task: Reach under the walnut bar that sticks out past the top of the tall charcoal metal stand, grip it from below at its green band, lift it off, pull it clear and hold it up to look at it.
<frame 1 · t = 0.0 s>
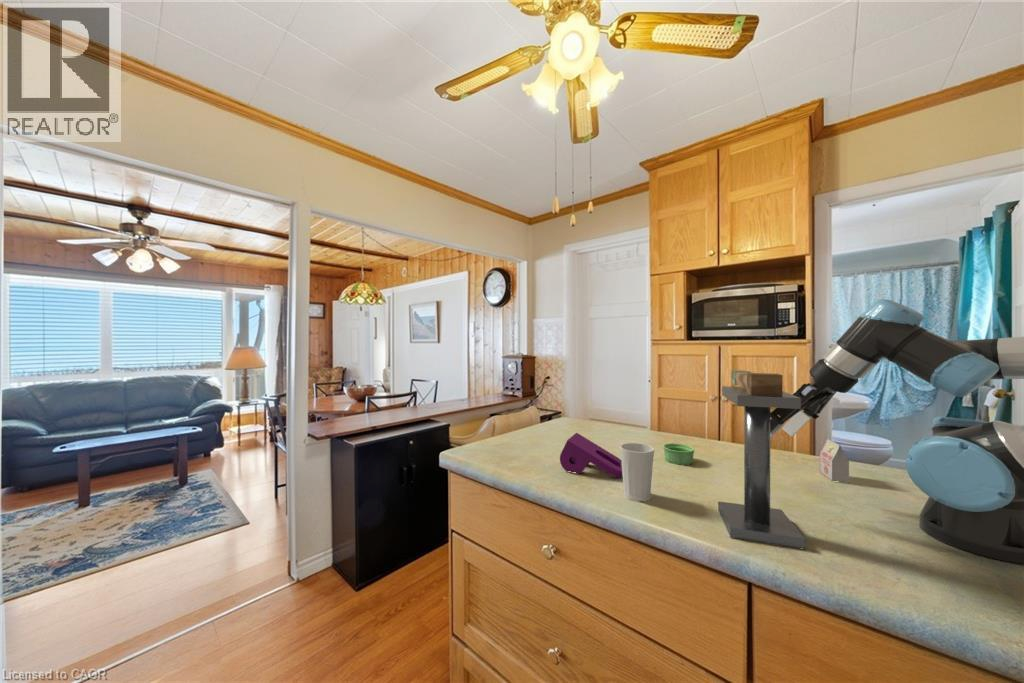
hand: (773, 436, 87), 15 cm above the worktop, tool tilted 35°, fingers open, 13 cm apart
milk carton: (833, 478, 100), on the worktop
charcoal stand: (757, 527, 74), on the worktop
ramekin: (678, 461, 115), on the worktop
cup: (636, 496, 90), on the worktop
walnut bar: (750, 388, 79), point 28 cm above the worktop, touching charcoal stand
mounting bracket: (595, 472, 107), on the worktop
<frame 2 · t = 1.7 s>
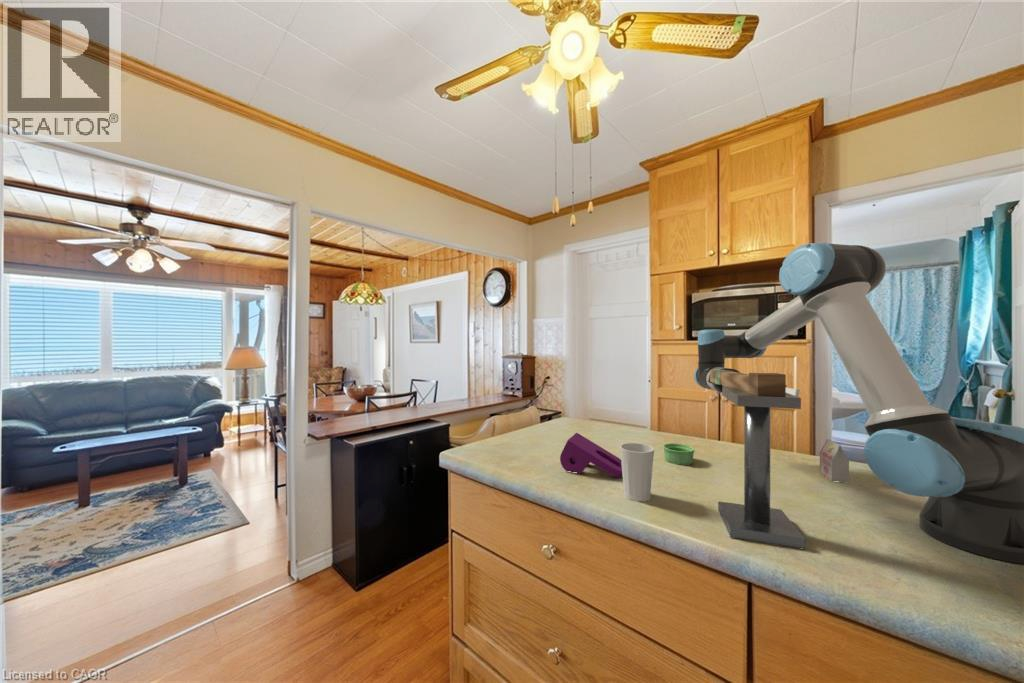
hand: (766, 389, 87), 27 cm above the worktop, tool horizontal, fingers open, 13 cm apart
walnut bar: (740, 387, 80), point 28 cm above the worktop, touching charcoal stand
everything else where it was.
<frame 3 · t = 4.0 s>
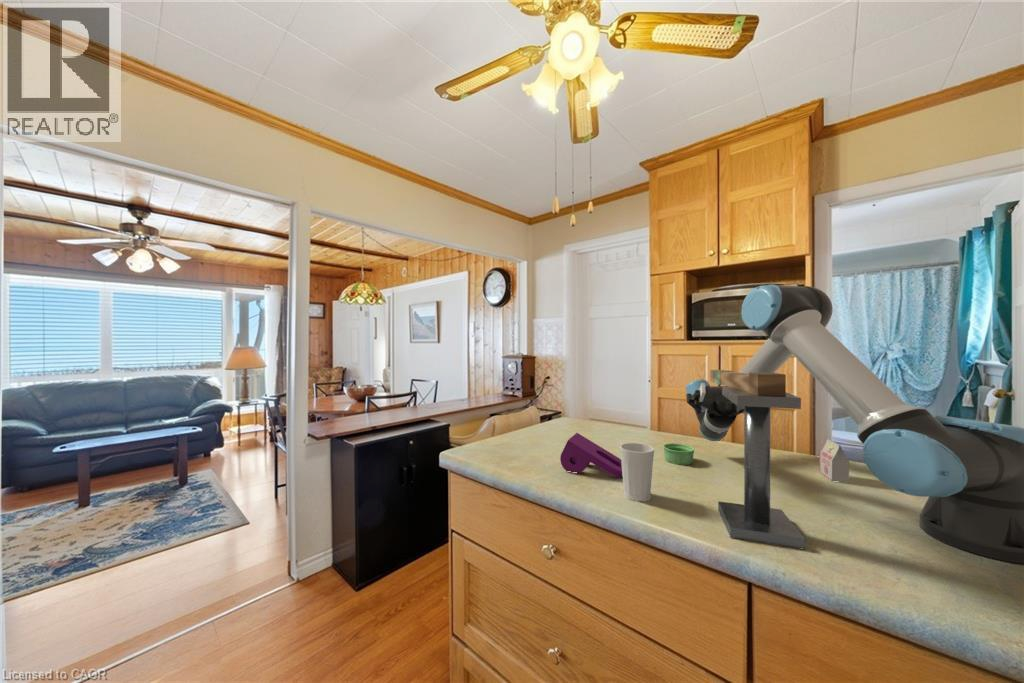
hand: (733, 388, 91), 26 cm above the worktop, tool pointing upward, fingers open, 13 cm apart
nothing on the worktop moved.
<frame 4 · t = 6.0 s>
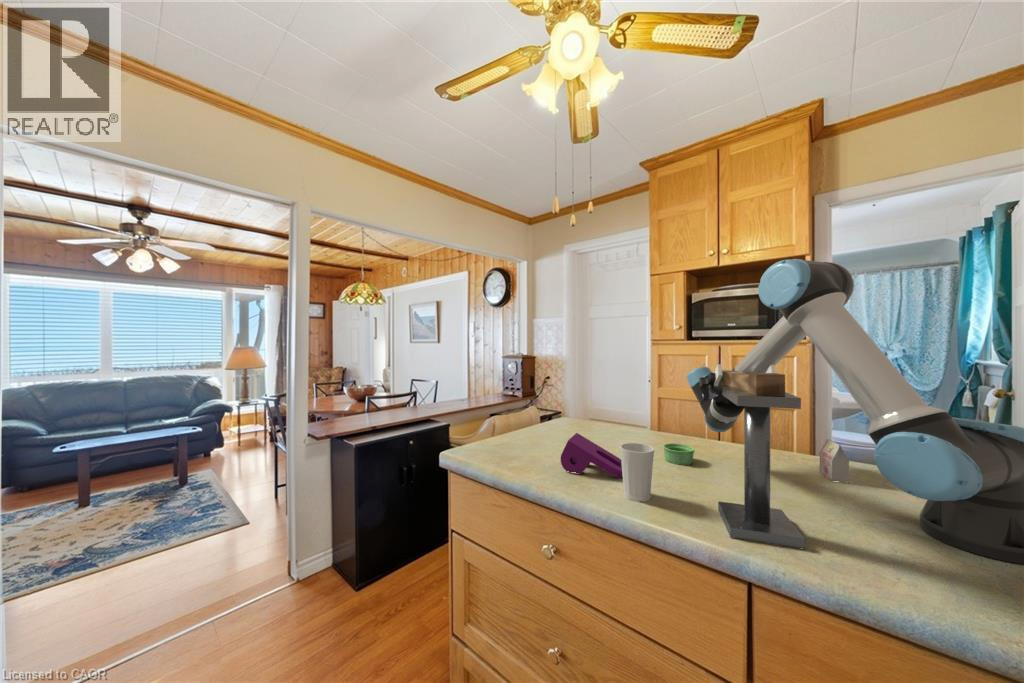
hand: (746, 370, 82), 32 cm above the worktop, tool pointing upward, fingers open, 10 cm apart
walnut bar: (742, 387, 80), point 28 cm above the worktop, touching gripper
everything else where it was.
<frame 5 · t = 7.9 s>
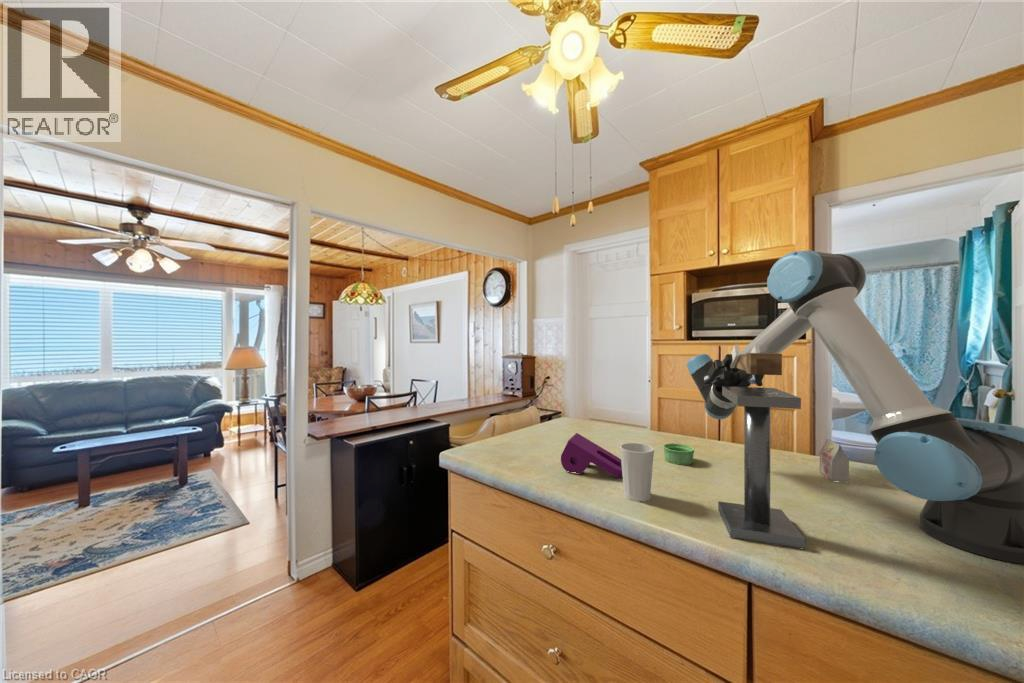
hand: (747, 350, 81), 36 cm above the worktop, tool pointing upward, fingers closed on walnut bar, 3 cm apart
walnut bar: (749, 370, 79), point 32 cm above the worktop, touching gripper
everything else where it was.
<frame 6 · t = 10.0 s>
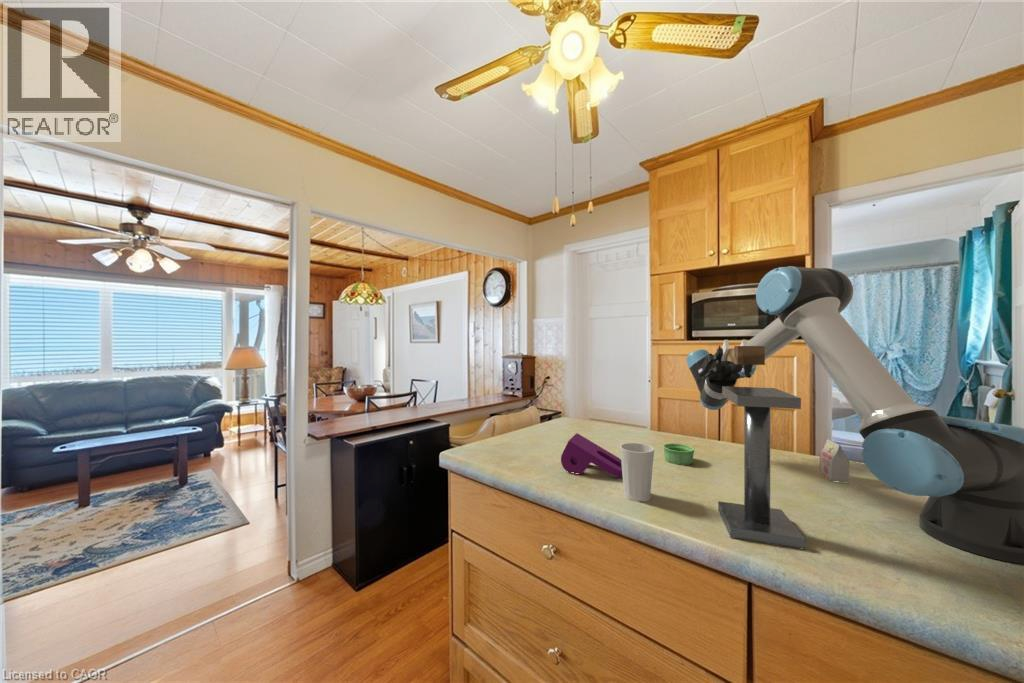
hand: (735, 344, 90), 37 cm above the worktop, tool pointing upward, fingers closed on walnut bar, 3 cm apart
walnut bar: (738, 361, 88), point 33 cm above the worktop, touching gripper
everything else where it was.
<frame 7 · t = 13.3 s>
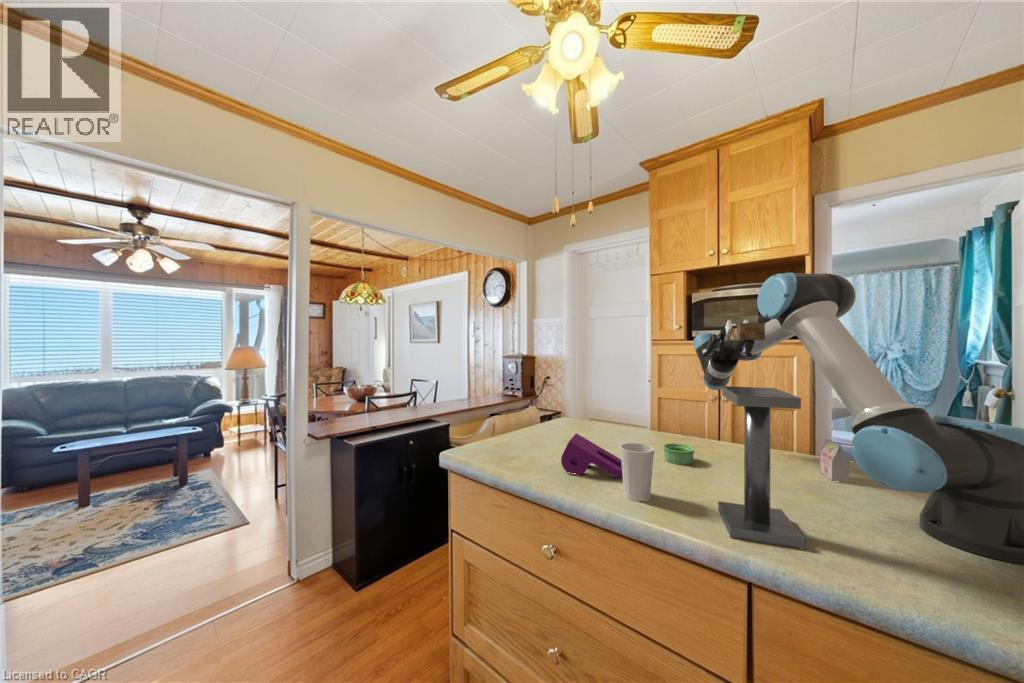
hand: (738, 324, 98), 43 cm above the worktop, tool pointing upward, fingers closed on walnut bar, 3 cm apart
walnut bar: (740, 339, 95), point 38 cm above the worktop, touching gripper
everything else where it was.
at the end: the gripper is holding walnut bar; walnut bar touching gripper; walnut bar point 38.5 cm above the worktop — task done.
